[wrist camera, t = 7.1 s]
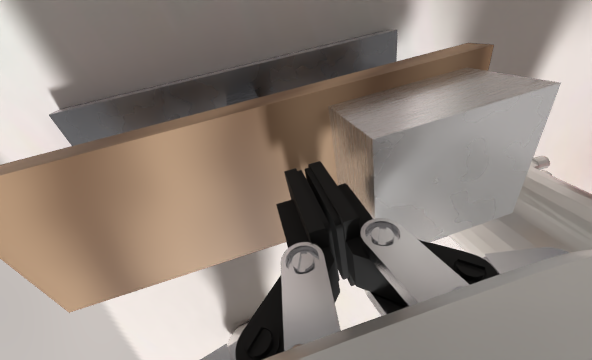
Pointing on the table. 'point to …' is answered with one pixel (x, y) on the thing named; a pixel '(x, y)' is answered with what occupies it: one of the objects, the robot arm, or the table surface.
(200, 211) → the balance beam
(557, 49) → the table surface
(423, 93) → the block
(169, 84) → the beam stand
